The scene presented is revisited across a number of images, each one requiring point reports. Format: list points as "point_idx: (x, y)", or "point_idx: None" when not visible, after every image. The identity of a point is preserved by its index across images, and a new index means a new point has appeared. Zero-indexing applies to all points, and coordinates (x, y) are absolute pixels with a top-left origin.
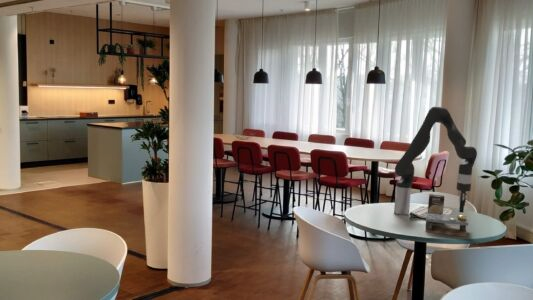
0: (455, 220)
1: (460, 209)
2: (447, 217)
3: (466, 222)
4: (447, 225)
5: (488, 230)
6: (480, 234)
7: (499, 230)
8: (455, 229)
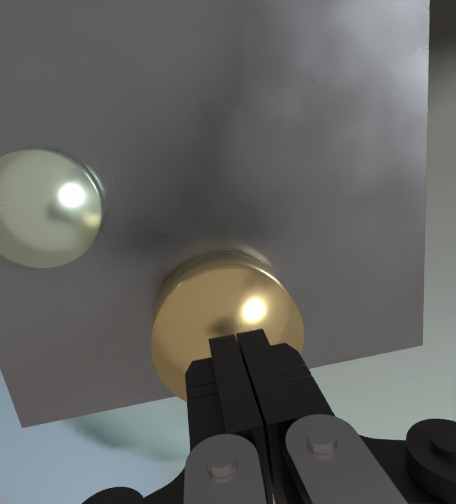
0: (20, 255)
1: (188, 394)
2: (198, 96)
3: (37, 404)
4: None
5: (405, 438)
6: None
7: None
8: None
